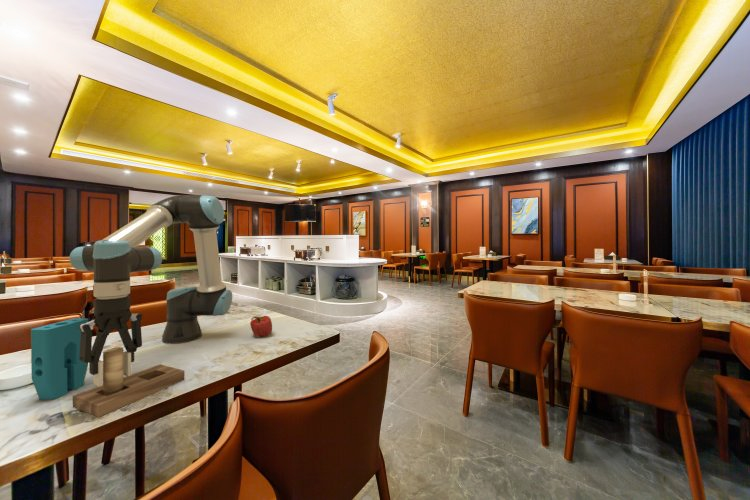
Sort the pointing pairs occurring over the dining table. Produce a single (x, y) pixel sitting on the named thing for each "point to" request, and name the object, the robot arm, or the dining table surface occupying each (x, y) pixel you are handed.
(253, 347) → the dining table surface
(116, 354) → the peg
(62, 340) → the block
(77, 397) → the board
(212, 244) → the robot arm
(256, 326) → the red apple
